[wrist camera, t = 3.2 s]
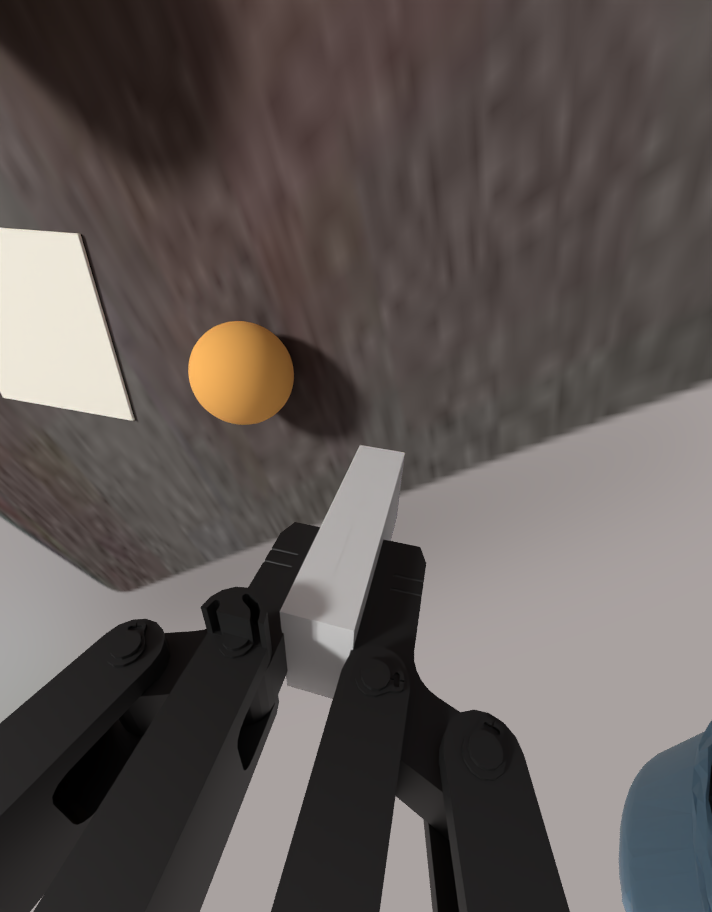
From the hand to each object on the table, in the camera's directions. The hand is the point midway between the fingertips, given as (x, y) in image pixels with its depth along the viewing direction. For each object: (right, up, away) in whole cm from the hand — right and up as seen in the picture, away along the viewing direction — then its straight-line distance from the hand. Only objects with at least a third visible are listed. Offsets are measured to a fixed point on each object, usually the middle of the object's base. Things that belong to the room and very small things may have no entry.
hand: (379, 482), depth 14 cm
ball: (-7, +5, +8) cm, 12 cm away
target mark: (-23, +10, +14) cm, 28 cm away
